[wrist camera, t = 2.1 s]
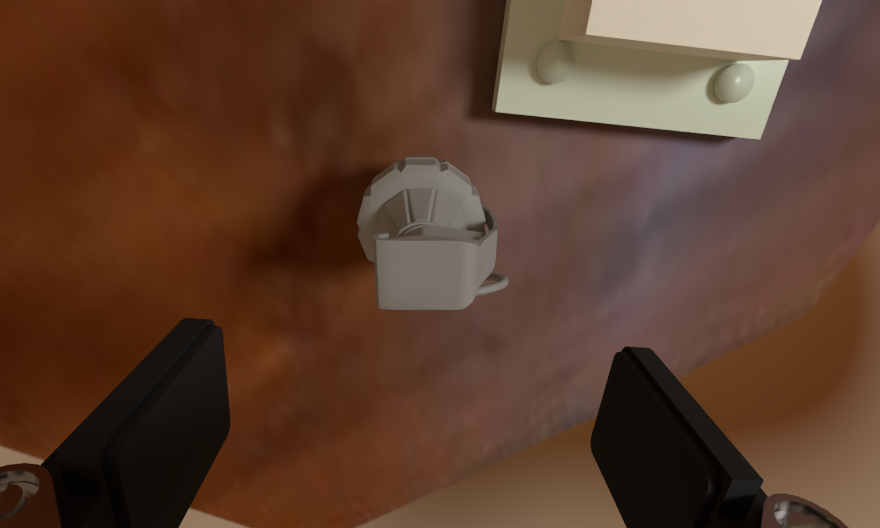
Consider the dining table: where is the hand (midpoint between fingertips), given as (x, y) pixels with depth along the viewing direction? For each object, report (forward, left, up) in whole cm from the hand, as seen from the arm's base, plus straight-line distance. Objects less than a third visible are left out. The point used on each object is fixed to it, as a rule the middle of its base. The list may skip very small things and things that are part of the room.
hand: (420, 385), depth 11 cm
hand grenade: (0, 0, -17) cm, 17 cm away
